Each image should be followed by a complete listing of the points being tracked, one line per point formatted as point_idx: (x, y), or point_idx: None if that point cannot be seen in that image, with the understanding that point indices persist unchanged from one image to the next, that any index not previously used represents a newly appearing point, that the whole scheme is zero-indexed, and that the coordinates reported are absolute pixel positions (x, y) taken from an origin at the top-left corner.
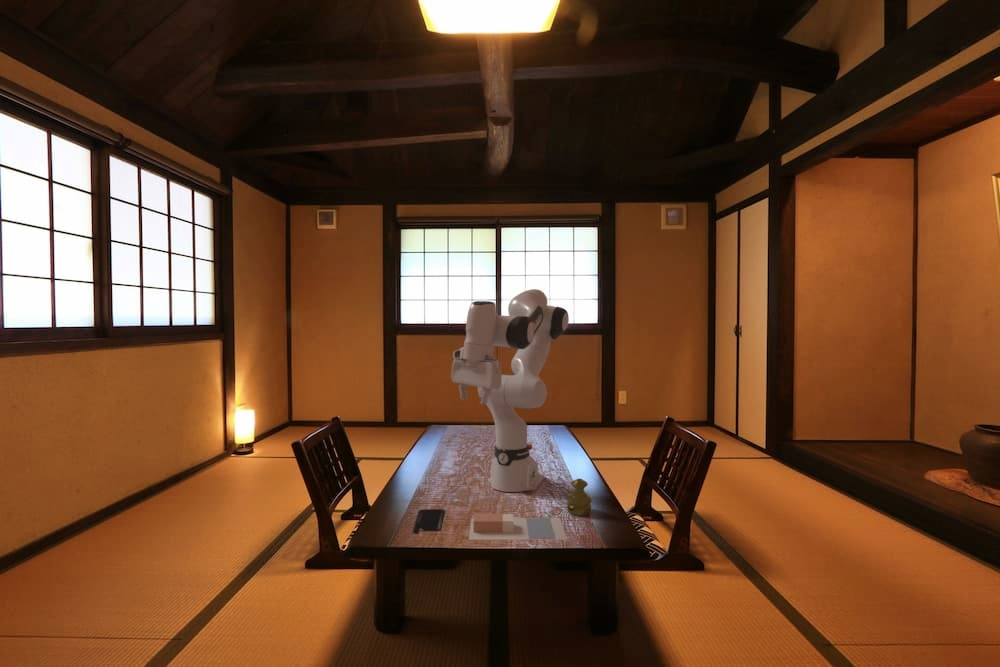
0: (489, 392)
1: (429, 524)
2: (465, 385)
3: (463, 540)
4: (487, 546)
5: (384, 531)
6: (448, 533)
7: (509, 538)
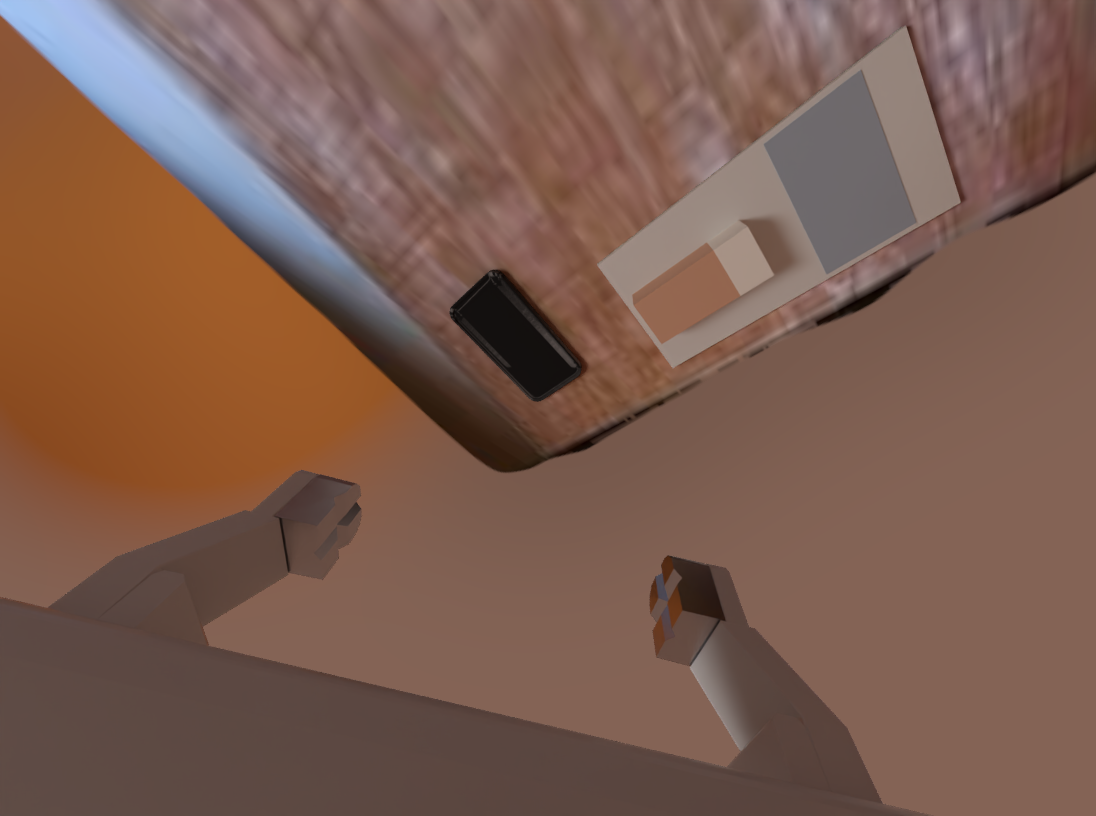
0: (828, 738)
1: (537, 359)
2: (164, 630)
3: (656, 365)
4: (725, 357)
5: (485, 423)
6: (601, 359)
7: (768, 305)
